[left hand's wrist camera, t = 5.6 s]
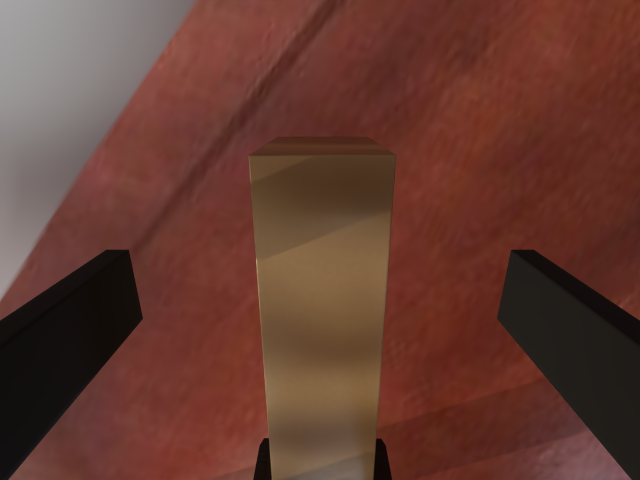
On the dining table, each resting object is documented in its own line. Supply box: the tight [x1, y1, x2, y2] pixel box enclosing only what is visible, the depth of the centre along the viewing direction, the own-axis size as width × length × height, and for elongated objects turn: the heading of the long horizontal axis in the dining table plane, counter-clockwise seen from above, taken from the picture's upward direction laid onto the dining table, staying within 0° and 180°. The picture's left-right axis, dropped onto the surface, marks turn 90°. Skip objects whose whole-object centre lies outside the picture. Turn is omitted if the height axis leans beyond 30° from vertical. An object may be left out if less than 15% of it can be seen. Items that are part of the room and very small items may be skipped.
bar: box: [249, 137, 396, 480], centre depth 20 cm, size 23×5×8 cm, turn 0°
